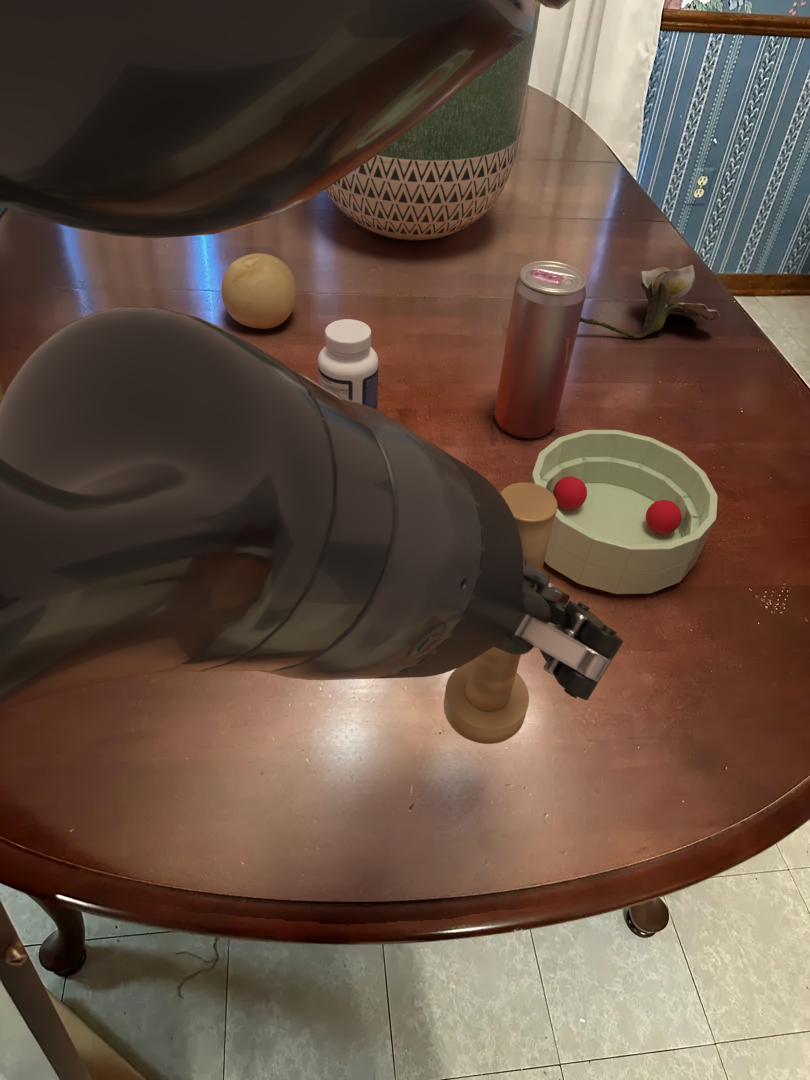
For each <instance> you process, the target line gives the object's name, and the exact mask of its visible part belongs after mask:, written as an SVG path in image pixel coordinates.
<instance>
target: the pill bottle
mask: <svg viewBox="0 0 810 1080" xmlns="http://www.w3.org/2000/svg"><path fill="white" fill-rule="evenodd" d="M324 342H325V343H324V344H325V346H324V347H322V348H321V350H320V352H319V354H318V357H317V370H318V371H317V373H318V384H319V385H321V386H323V387H324V388H326V389H328V390H329V391H331V392H333V393H334V394H335V395H337V396H340V397H342V398H345V399H348V400H352V401H355V402H358V403H361V404H364V405H367V406H369V407H371V408H374V409H376V410H378V403H379V401H378V399H379V357H378V354H377V352H376V351H375V349H374V348H373V347H372V330H371V327H370V326H369V325H368V324H367V323H366V322H363V321H361V320H356V319H353V318H352V319H351V318H350V319H349V318H347V319H346V318H345V319H338V320H335V321H332V322H331V323H329V324H328V325H327V326H326V327H325V330H324Z"/></svg>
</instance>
